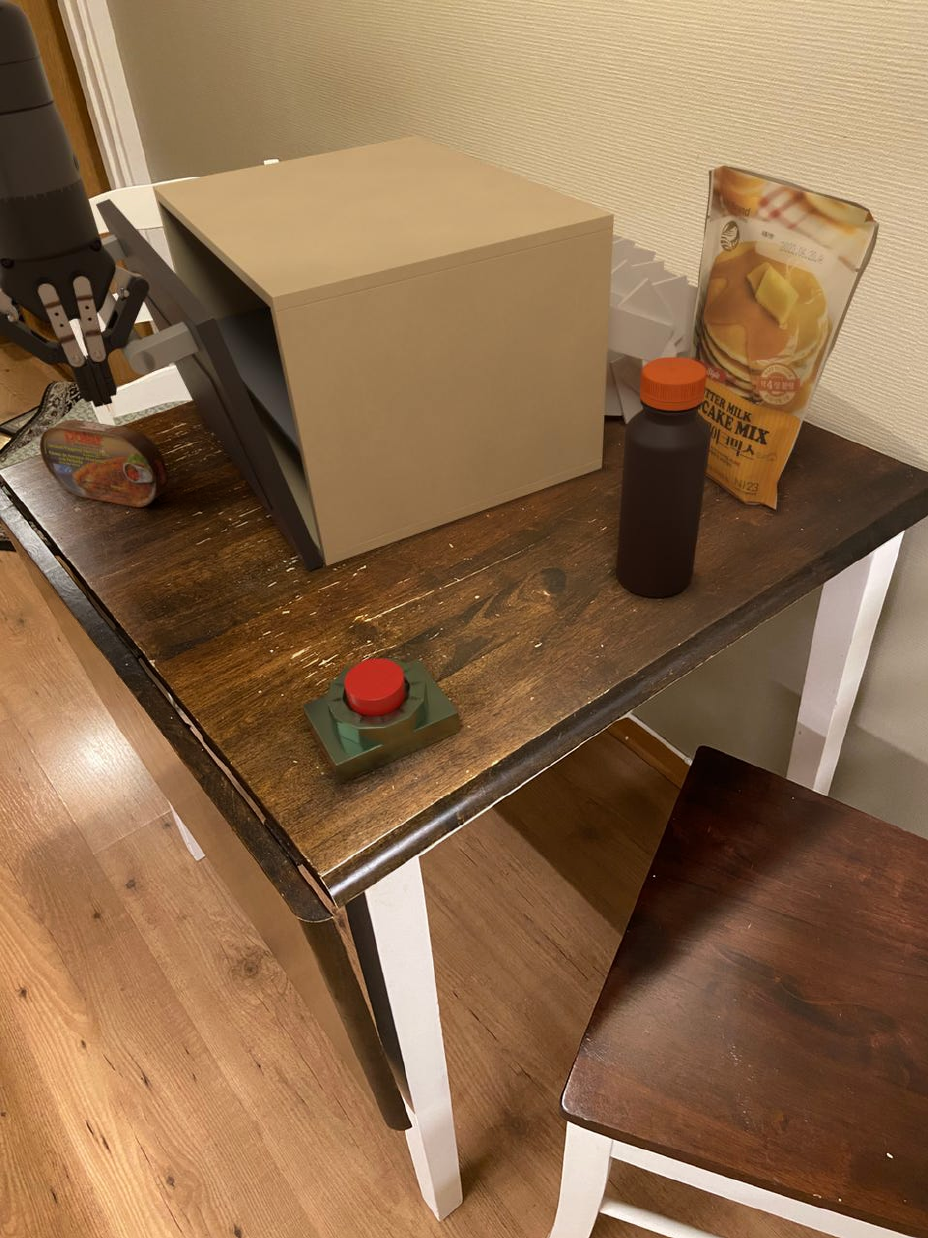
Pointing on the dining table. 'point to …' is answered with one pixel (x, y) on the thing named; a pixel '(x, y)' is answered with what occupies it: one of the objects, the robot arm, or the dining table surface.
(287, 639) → the dining table surface
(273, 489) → the oven door
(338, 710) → the button base
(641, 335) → the spiral staircase
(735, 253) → the pancake mix bag
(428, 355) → the oven
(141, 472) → the tin
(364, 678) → the button
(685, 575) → the bottle
